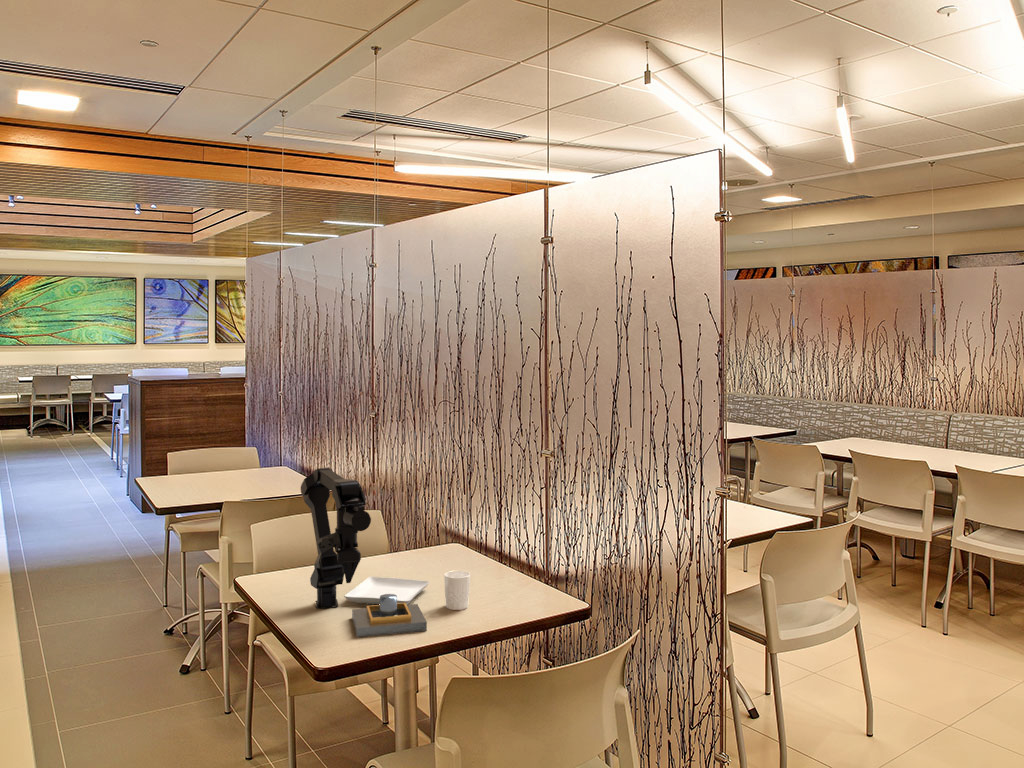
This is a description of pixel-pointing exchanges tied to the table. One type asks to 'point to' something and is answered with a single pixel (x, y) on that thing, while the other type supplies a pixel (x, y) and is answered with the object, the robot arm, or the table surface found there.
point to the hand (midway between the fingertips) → (347, 578)
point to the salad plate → (386, 590)
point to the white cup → (457, 589)
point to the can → (388, 605)
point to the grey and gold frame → (388, 621)
